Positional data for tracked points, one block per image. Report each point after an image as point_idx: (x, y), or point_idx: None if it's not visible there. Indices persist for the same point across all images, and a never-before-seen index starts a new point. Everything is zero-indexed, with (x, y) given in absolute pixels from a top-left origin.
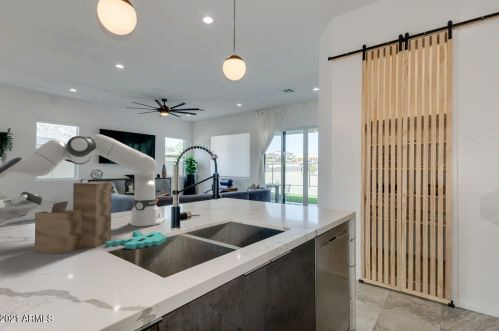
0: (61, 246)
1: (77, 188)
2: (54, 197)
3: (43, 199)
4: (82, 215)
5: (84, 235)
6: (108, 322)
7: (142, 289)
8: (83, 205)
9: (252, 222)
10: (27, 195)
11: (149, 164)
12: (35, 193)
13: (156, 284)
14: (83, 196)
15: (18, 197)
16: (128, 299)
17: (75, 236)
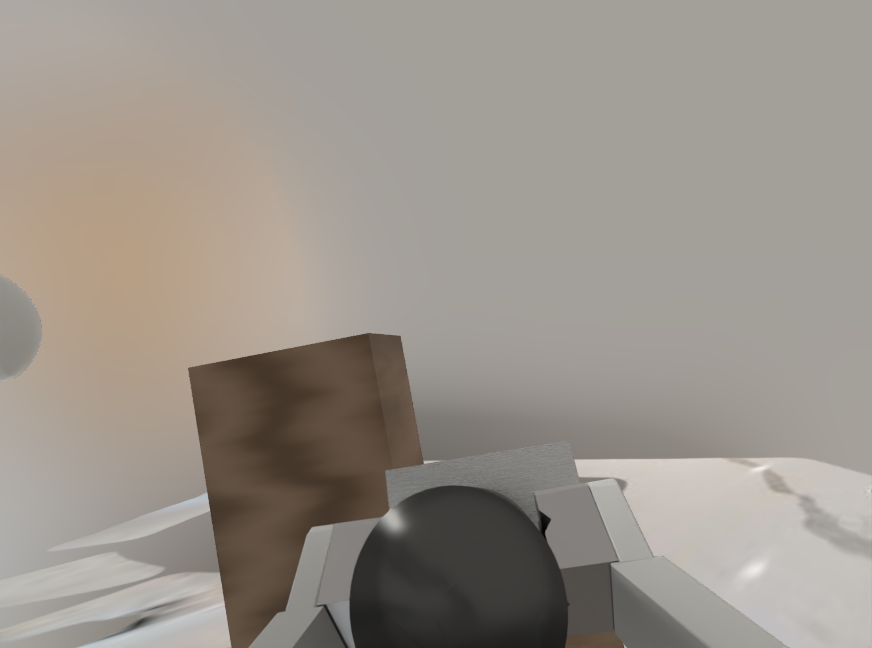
0: None
1: (382, 371)
2: (425, 464)
3: (566, 441)
4: None
5: None
6: (794, 458)
7: (687, 476)
8: None
9: (200, 514)
10: (523, 511)
11: (39, 317)
12: (318, 528)
13: (657, 475)
14: (401, 420)
15: (680, 576)
16: (729, 472)
17: None
